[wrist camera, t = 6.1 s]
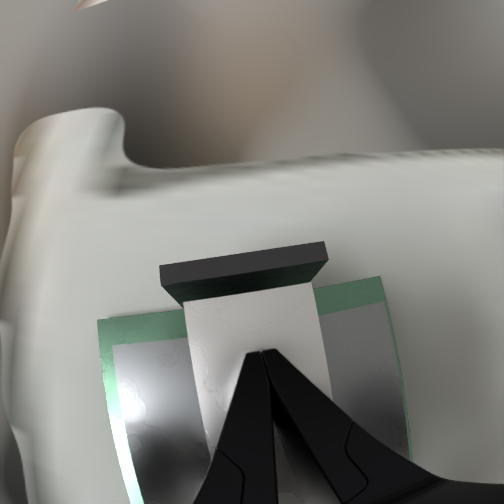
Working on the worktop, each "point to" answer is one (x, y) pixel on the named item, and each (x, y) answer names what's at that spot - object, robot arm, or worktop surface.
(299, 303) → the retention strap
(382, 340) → the green grey square block
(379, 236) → the worktop surface
